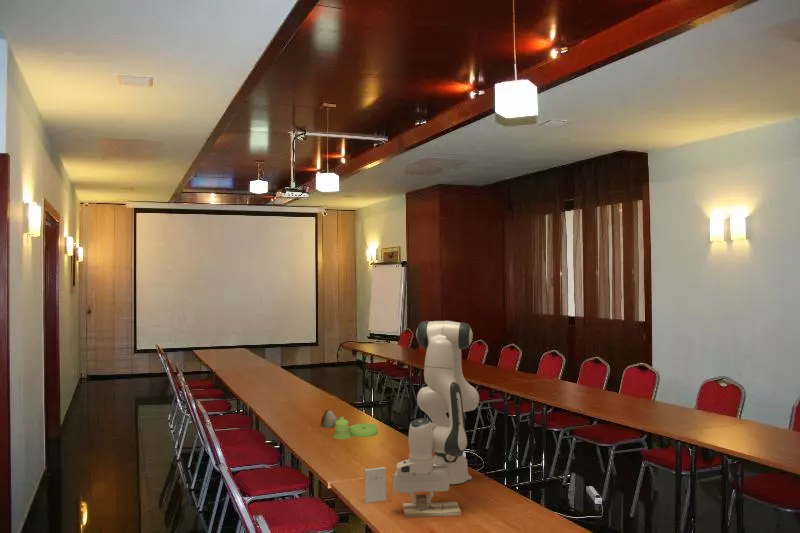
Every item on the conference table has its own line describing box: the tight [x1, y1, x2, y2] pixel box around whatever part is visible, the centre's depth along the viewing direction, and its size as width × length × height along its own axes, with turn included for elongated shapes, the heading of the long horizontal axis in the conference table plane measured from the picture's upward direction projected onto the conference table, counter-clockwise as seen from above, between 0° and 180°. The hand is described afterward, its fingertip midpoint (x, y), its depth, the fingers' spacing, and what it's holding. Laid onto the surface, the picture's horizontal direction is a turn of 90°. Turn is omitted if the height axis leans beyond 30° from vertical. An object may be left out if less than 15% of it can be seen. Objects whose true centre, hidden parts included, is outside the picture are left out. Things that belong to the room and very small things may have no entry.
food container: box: [332, 416, 379, 440], centre depth 349 cm, size 25×14×13 cm, turn 122°
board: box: [402, 501, 462, 518], centre depth 239 cm, size 11×20×1 cm, turn 93°
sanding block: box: [415, 493, 428, 510], centre depth 238 cm, size 5×4×4 cm
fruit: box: [320, 408, 339, 429], centre depth 369 cm, size 10×9×12 cm
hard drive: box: [364, 466, 387, 504], centre depth 250 cm, size 2×8×12 cm, turn 112°
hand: (421, 503), depth 239 cm, fingers closed on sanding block, 3 cm apart
